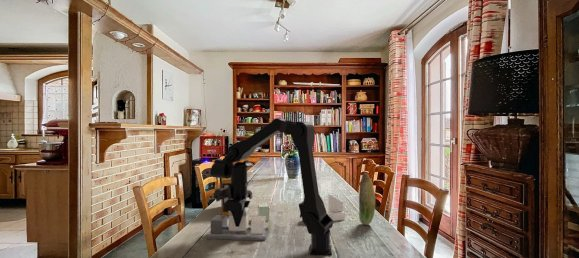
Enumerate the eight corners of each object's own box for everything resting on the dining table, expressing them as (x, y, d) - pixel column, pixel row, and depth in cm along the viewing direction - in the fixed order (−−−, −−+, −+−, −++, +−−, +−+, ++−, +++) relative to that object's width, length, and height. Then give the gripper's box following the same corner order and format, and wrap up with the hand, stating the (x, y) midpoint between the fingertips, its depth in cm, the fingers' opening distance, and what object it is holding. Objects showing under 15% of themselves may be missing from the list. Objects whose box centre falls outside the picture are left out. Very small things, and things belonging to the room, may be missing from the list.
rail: (265, 240, 97) (265, 222, 97) (206, 238, 98) (206, 221, 98) (268, 231, 105) (268, 215, 105) (214, 230, 106) (214, 214, 106)
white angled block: (318, 213, 120) (328, 194, 121) (337, 223, 123) (347, 204, 124) (321, 215, 117) (332, 196, 118) (341, 226, 119) (351, 207, 120)
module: (246, 230, 100) (246, 210, 100) (228, 230, 100) (228, 210, 100) (248, 226, 104) (248, 207, 104) (231, 226, 104) (231, 206, 104)
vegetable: (375, 223, 115) (375, 172, 115) (375, 228, 109) (375, 175, 109) (359, 222, 117) (359, 172, 117) (358, 227, 111) (358, 174, 111)
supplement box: (242, 205, 142) (243, 173, 142) (246, 214, 127) (246, 178, 127) (221, 206, 140) (221, 173, 140) (222, 215, 125) (222, 179, 125)
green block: (269, 221, 117) (269, 206, 117) (259, 221, 117) (259, 206, 117) (267, 217, 122) (267, 203, 122) (258, 218, 121) (258, 203, 121)
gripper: (223, 175, 112) (223, 216, 112) (207, 184, 93) (207, 233, 93) (252, 175, 111) (252, 216, 111) (241, 185, 92) (241, 234, 92)
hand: (238, 224), depth 102 cm, fingers closed on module, 4 cm apart
